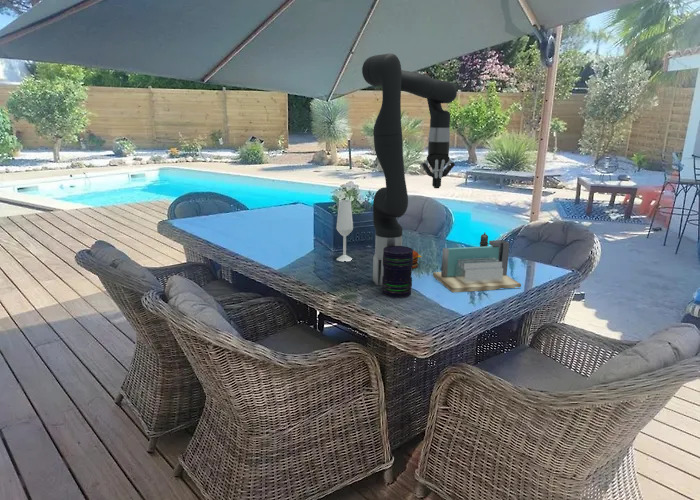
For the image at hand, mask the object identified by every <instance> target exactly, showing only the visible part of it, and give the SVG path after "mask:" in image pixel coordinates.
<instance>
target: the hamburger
mask: <svg viewBox="0 0 700 500" xmlns="http://www.w3.org/2000/svg"><path fill="white" fill-rule="evenodd" d="M419 258H423V256H422V255H420V254H419V253H418V252H417V251H416V250H414V249H413V266H412V269H416V268H418V267H419V264H418V261H419Z"/></svg>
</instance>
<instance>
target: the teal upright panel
mask: <svg viewBox="0 0 700 500" xmlns="http://www.w3.org/2000/svg"><path fill="white" fill-rule="evenodd" d="M441 255H442V259H441V271H440V272H441V276H442V277H448V276H455V269H456V264H457V259H473V258H492V257H494V258H495V259H498V258H499V247H498V246H495V247H494V246H492V245H489V246H485V247H480V246H470V247H469V246H468V247H467V246H466V247H465V246H464V247H443V248H442V254H441Z"/></svg>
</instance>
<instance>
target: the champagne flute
mask: <svg viewBox="0 0 700 500" xmlns="http://www.w3.org/2000/svg"><path fill="white" fill-rule="evenodd" d="M335 228H336V230H337V232H338V233H339V234H340V235H341V236H342V239H343V240H342V242H343V243H342V244H343V245H342V247H343V248H342V252H343V253H342V255H340V256H338V257H337V258H336V261H339V262H344V261H346V262H351V260H352V259H353V258H352V257H351V256H349V255H347V236H349V235H350V233H352V231H353V229H354V221H353V209H352V200H349V199H340V200H338V209H337V218H336V227H335ZM352 261H353V260H352Z"/></svg>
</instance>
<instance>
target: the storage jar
mask: <svg viewBox="0 0 700 500" xmlns="http://www.w3.org/2000/svg"><path fill="white" fill-rule="evenodd" d="M413 250H414V249H413V248H412V247H410V246H404V245H402V246H388V247H385V248H384V249H383V252H384V253H383V266H384V270H383V277H382V286H381V288H382V290H381V293H382V295H383V296H385V297H387V298H393V299H405V298H408V297H410V296H411V295H412V287H413V277H412V272H413V270H412V266H413Z"/></svg>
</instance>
